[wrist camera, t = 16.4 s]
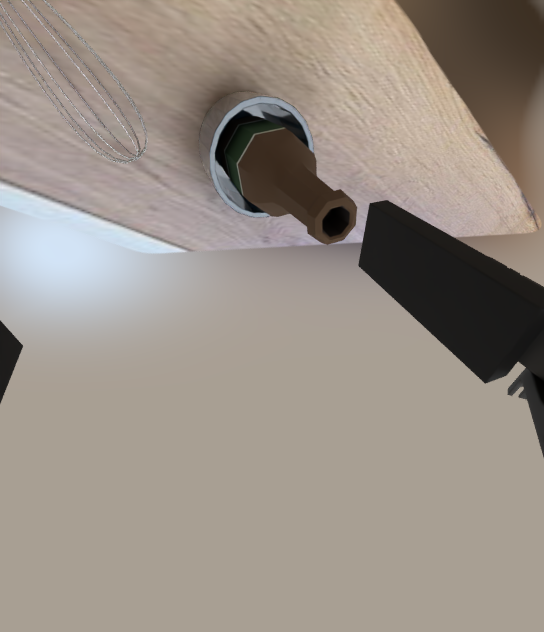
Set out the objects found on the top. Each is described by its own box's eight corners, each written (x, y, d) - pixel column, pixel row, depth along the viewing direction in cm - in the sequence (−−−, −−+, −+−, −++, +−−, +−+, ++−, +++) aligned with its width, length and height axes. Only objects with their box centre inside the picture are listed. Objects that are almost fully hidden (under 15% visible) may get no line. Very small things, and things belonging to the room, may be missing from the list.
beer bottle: (285, 159, 39) (397, 232, 22) (238, 194, 40) (311, 290, 23) (256, 97, 34) (373, 130, 17) (203, 139, 35) (262, 211, 18)
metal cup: (179, 157, 36) (187, 174, 30) (237, 63, 32) (258, 62, 26) (251, 212, 43) (268, 235, 37) (305, 141, 39) (333, 154, 34)
